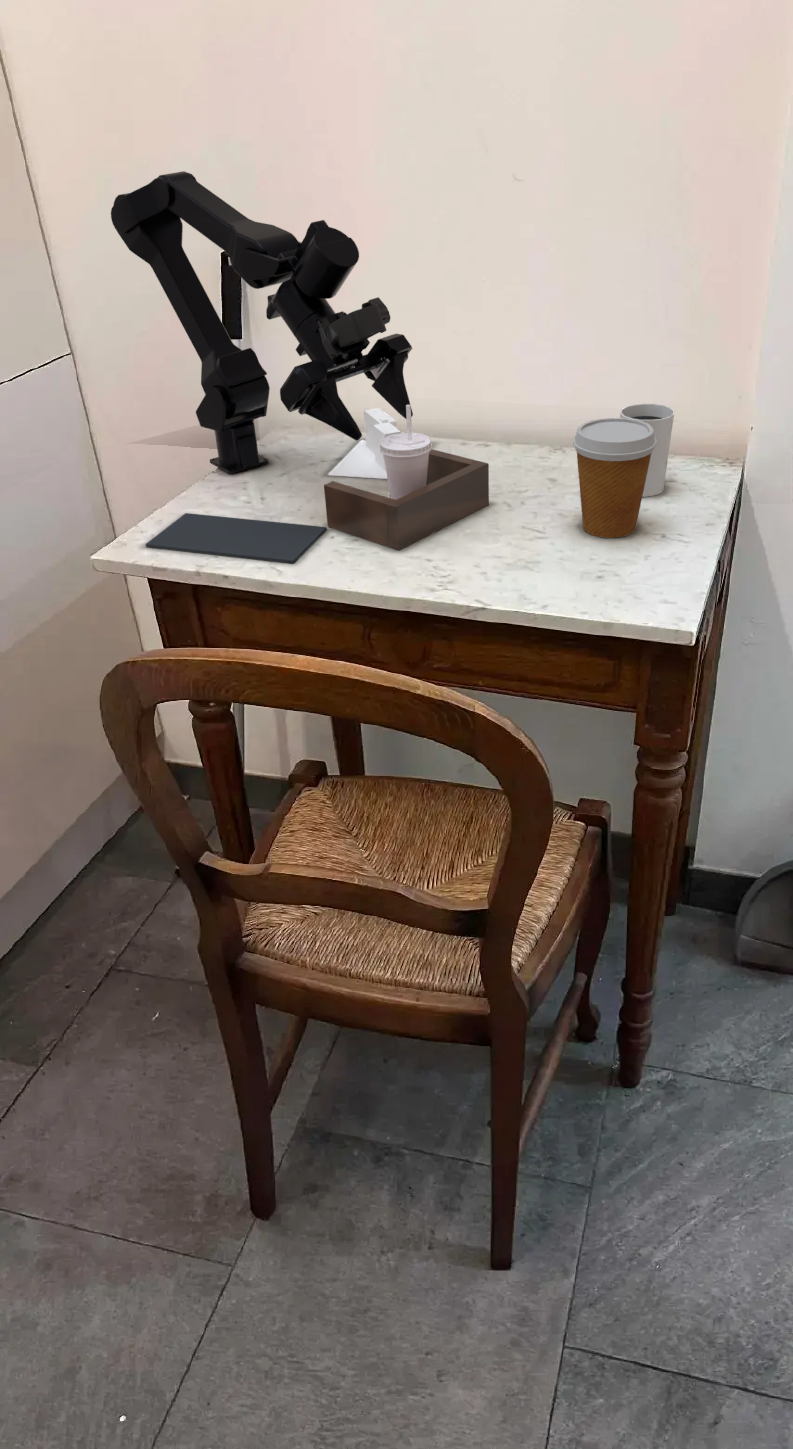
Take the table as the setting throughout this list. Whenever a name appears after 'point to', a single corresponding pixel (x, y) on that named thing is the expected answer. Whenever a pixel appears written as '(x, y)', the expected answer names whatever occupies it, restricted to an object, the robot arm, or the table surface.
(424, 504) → the frame
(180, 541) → the mat
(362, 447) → the napkin holder
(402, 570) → the table surface
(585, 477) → the disposable coffee cup
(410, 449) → the smoothie
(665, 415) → the white paper cup
